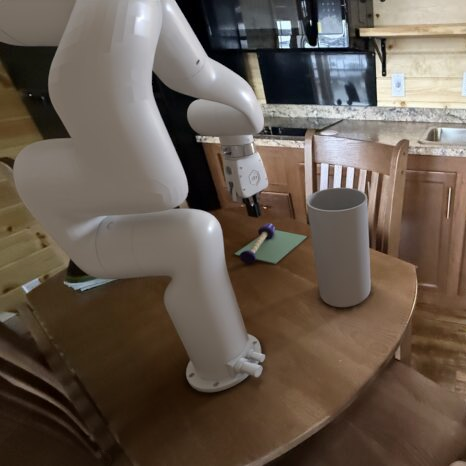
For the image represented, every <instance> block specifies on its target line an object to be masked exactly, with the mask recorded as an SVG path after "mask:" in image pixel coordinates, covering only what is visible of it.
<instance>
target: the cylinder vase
mask: <svg viewBox="0 0 466 466" xmlns="http://www.w3.org/2000/svg"><path fill="white" fill-rule="evenodd" d="M306 209H307V215H308V223H309V229H310V237H311V244H312V251H313V256H314V263H315V270H316V276H317V277H316V278H317V285H318V292H319V296H320V298H321V300H322V301H323V302H324V303H326V304H327V305H329V306H331V307H334V308H335V307H336V308H349V307H354V306H356V305H358V304H361V303H362V302H364V301H365V300H366V299H367V298H368V297H369V295H370V293H371V289H372V285H371V284H372V283H371V257H370V255H371V254H370V235H369V232H370V231H369V210H368V209H369V208H368V196H367V193H365V192H363V191H362V190H359V189H357V188H351V187H331V188H324V189H321V190H317V191H315V192H313V193H311V194H309V196H307V198H306Z"/></svg>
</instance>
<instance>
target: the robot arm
mask: <svg viewBox="0 0 466 466" xmlns="http://www.w3.org/2000/svg"><path fill="white" fill-rule="evenodd" d="M0 42H1V43H4V44H7V45H12V46H20V47H57V49H56V50H55V55H54V56H53V59H52V61H51V64H50V68H49V73H48V81H47V82H48V83H47V87H48V96H49V99H50V102H51V104H52V107H53V108H54V110H55V112H56V114H57V115H58V117H59V119H60V120H61V122H62V125H63V126H64V127H65V129H66V131H67V133H68V135H69V136H70V137H64V138H63V137H62V138H48V139H44V140H39V141H35V142H32V143H30V144H28V145H27V146H25V147H24V148H22V149H21V150H20V152H19V153H18V154H17V156H16V157H15V159H14V163H13V167H12V176H13V177H12V178H13V181H14V186H15V189H16V191H17V194H18V196H19V198H20V200H21V201H22V203H23V204H24V206H25V207H26V209H27V210H28V211H29V213H30V214H31V215H32V216H33V217H34V218H35V219H36V221H37V222H38V223H39V224H40V226H41V227H42V228H43V229H44V230H45V231H46V233H48V235H49V236H50V237H51V238H52V240H54V242H55V243H56V244H57V245H58V246H59V247H60V249H61V250H62V251H63V252H64V253H65V254H66V255H67V257H68V258H69V259H70V261H72V262H73V263H74V264H75V266H76V267H78V268H79V269H80V270H81V271H82V272H84V273H85V274H86V275H88V276H91V277H93V278H95V279H98V280H99V279H100V280H124V279H125V280H127V279H135V278H137V279H138V278H144V277H145V278H146V277H162V276H164V277H165V276H166V277H170V278H171V280H170V281H169V283H168V284H167V286H166V289H165V291H164V293H163V305H164V307H165V309H166V312H167V314H168V315H169V318H170V320H171V322H172V324H173V326H174V328H175V330H176V333H177V335H178V337H179V339H180V341H181V343H182V346H183V347H184V349H185V351H186V354H187V356H188V358H189V362H188V364H187V366H186V369H185V376H186V377H185V378H186V380H187V382H188V384H189V385H190V386H191V387H192V388H193V389H194V390H196V391H197V392H201V393H216V392H217V393H218V392H221V391H224V390H227V389H231V388H232V387H234V386H236V385H238V384H239V383H242V381H245V379H247V378H248V377H249V376H251V377H254V378H259V377H260V376H261V374H262V373H263V370H264V368H263V366H262V365H260V364H259V363H263V362H264V361H265V360H266V354H264V353H262V351H263V350H262V346H261V344H260V341H259V339H258V338H256V337H255V336H254V335H253V334H250V333H248V331H247V328H246V325H245V322H244V319H243V316H242V312H241V310H240V306H239V302H238V301H237V297H236V293H235V291H234V288H233V284H232V282H231V278H230V275H229V271H228V266H227V262H226V256H225V255H226V254H225V244H224V235H223V229H222V226H221V224H220V222H219V220H218V219H217V218H216V217H215V216H214V215H213V214H212V213H210V212H208V211H205V210H202V209H197V208H196V209H195V208H178V206H180V205H182V204H183V203H184V202H185V201H186V199H187V197H188V193H189V185H188V184H189V183H188V179H187V178H188V177H187V175H186V173H185V170H184V167H183V165H182V162H181V160H180V157H179V155H178V152H177V151H176V147H175V145H174V143H173V141H172V138H171V137H170V134H169V132H168V129H167V127H166V125H165V122H164V120H163V118H162V115H161V113H160V110H159V108H158V105H157V102H156V100H155V96H154V92H153V85H152V83H153V81H152V80H153V73H154V74H155V75H156V76H157V77H158V79H159V80H160V81H161V82H162V83H163V84H164V85H165V86H166V87H168V88H169V89H171V90H173V91H175V92H177V93H179V94H182V95H186V96H189V97H192V98H196V100H194V101H191V103H190V104H189V106H188V108H187V110H186V111H187V112H186V113H187V114H186V118H187V122H188V124H189V126H190V127H191V129H192V130H193V131H194V132H196V133H197V134H198V135H201V136H204V137H217V138H218V140H219V143H220V148H221V149H220V150H219V153H220V155H221V156H223V158H222V168H223V169H222V170H223V174H224V180H225V185H226V188H227V191H228V195H229V196H231V197H232V203H235V204H240V203H242V204H243V205H245V208H246V212H247V213H246V214H247V216H248V217H251V218H255V219H256V218H259V217H261V216H262V211H261V206H260V202H261V194H262V192H264V191H265V190H266V188H268V186H269V180H268V175H267V171H266V168H265V165H264V162H263V160H262V157H261V155H260V153H259V152H258V151H257V149H256V144H255V140H254V136H256V135H259V134H260V133H261V132H262V131H263V129H264V126H265V119H264V114H263V110H262V107H261V105H260V102H259V100H258V98H257V96H256V93H255V91H254V89H253V88H252V86H251V85H250V84H249V83H248V81H246V80H245V79H244V78H243V77H241V76H240V75H239V74H237V73H236V72H234V71H233V70H232V69H230V68H228V67H227V66H225V65H223V64H222V63H220V62H219V61H216V60H214V59H212V58H211V57H209V56H208V54H207V52H206V51H205V49H204V48H203V45H202V44H201V42H200V41H199V39H198V37H197V35H196V34H195V32H194V30H193V28H192V27H191V25H190V23H189V22H188V19H187V18H186V17H185V15H184V13H183V12H182V10H181V8H180V7H179V5H178V3H177V2H176V0H0Z"/></svg>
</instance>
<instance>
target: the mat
mask: <svg viewBox="0 0 466 466" xmlns="http://www.w3.org/2000/svg"><path fill="white" fill-rule="evenodd" d="M259 237H260V236H258V237H257V238H255V239H254V240H252V241H251V242H249V243H248V244H247V245H245V246H243V247H242V248H241V249H239V250H238V251H236V252H235V253H234V256H238V257H240V254H241V253H242V252H243V251H246V250H248V251H249V250H250V249H251V247H253V245H254V244H255V242H256V241H257V239H258V238H259ZM307 237H308V236H307V235H302V234H297V233H293V232H287V231H283V230H278V229H275V231H274V236H273V237H272V238H271V239H268V240H267V239H265V240H264V241H263V242H262V243H261V245H260V246H259V248H258V249H257V251H256V252H255V256H256V260H255V261H259V262H263V263H269V264H271V265H276V264H277V263H279V261H280V260H282V259H283V258H284V257H285V256H286V255H288V254H289V253H290V252H291V251H293V250H294V249H295V248H296V247H297V246H298V245H300V244H301V243H302V242H303V241H304V240H306V238H307Z"/></svg>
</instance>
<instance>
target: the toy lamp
mask: <svg viewBox="0 0 466 466" xmlns="http://www.w3.org/2000/svg"><path fill="white" fill-rule="evenodd" d="M275 230H276V227H275V225H274V224H273V223H265V224H264V225H262V226H261V227H259V229H258V230H257V233H258V235H259V236H258V237H259V238H258V237H257V238H258V239H257V238H256V239H257V241H256V242H255V244H254V245H253V247H251V249H250V250H249V251H248V250H246V251H243V252H242V253H241V254H240V256H239V259H240V260H241V261H242V262H243V263H245V264H248V265H252V264H254V263H255V262H256V261H257V260H256V256H255V252H256V251H257V249H258V248H259V246H260V245H261V243H262V242H263V241H264V240H265V239H267V240H268V239H271V238H272V237H273V236H274V231H275Z"/></svg>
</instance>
